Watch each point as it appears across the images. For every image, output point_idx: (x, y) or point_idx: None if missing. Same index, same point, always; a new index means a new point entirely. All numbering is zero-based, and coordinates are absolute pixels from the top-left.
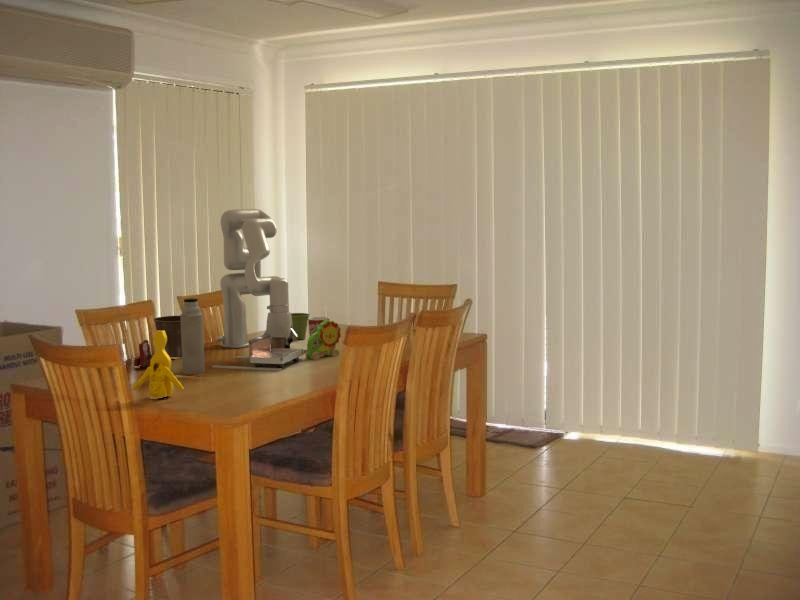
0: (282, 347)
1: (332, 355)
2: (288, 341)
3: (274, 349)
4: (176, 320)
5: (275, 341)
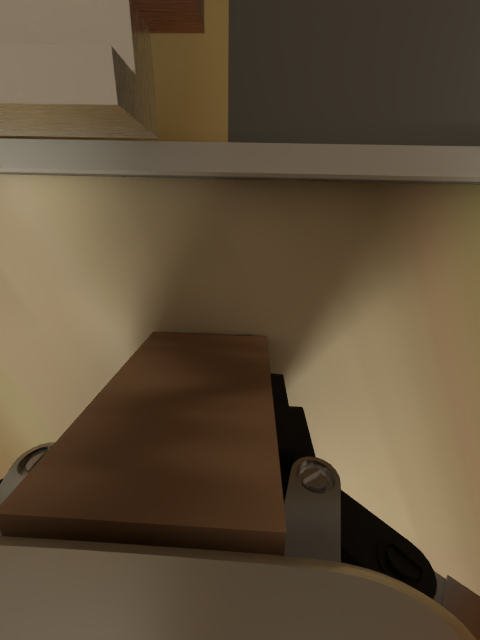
0: (117, 391)
1: None
2: (2, 500)
3: (58, 62)
4: None
5: (207, 464)
